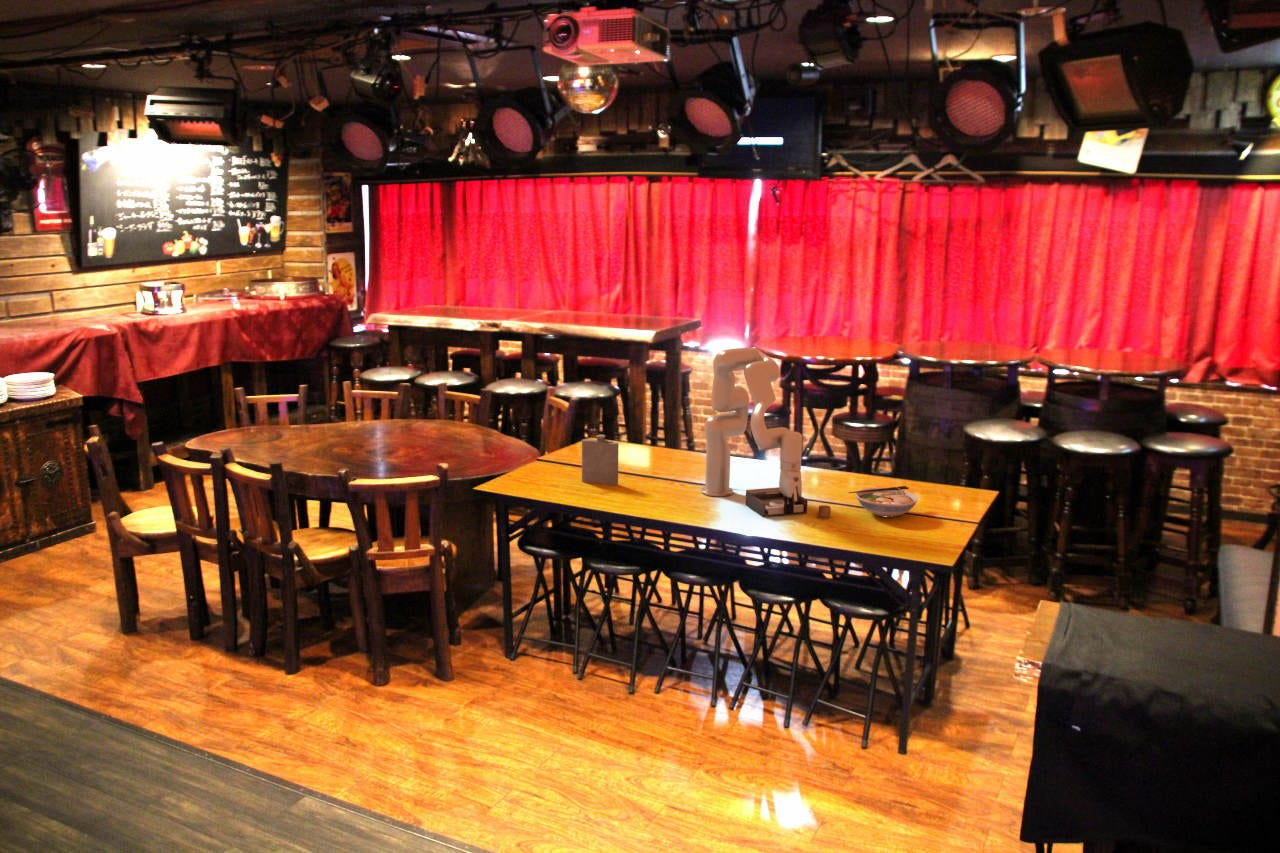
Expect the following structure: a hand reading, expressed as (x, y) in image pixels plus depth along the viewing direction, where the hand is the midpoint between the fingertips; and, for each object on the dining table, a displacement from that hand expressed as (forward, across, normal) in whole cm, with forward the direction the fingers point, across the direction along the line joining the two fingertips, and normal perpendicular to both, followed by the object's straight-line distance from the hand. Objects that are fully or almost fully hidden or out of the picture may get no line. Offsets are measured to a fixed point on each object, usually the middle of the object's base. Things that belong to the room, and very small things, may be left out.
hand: (788, 513), depth 385 cm
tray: (0, +10, 0) cm, 10 cm away
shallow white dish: (0, +8, 0) cm, 8 cm away
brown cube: (+2, -3, -13) cm, 14 cm away
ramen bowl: (+2, -6, -37) cm, 38 cm away
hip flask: (+1, +64, +54) cm, 84 cm away
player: (+2, +11, 0) cm, 11 cm away
